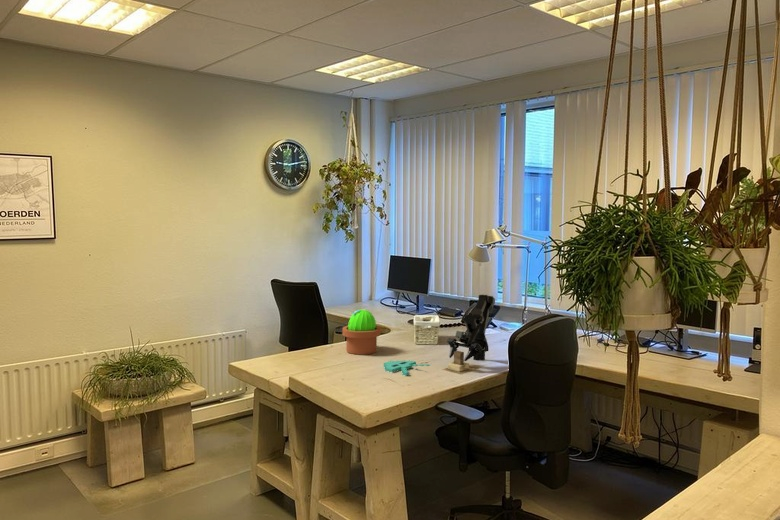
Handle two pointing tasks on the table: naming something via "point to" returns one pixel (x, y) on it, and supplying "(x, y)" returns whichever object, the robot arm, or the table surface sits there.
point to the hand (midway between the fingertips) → (457, 359)
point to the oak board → (471, 368)
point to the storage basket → (426, 329)
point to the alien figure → (400, 366)
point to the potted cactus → (361, 333)
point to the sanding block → (458, 362)
